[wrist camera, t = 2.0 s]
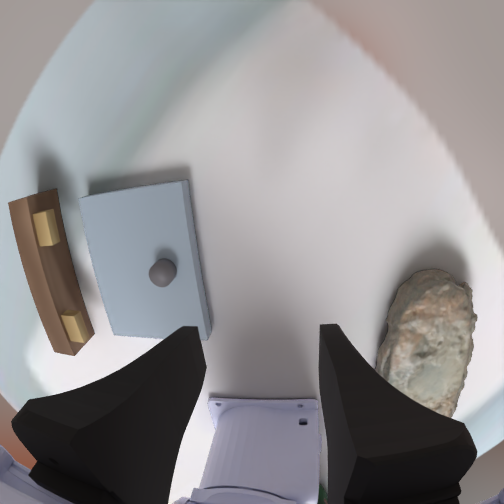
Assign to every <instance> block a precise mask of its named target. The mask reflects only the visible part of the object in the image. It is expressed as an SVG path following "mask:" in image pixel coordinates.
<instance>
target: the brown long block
mask: <svg viewBox="0 0 504 504" xmlns="http://www.w3.org/2000/svg"><path fill="white" fill-rule="evenodd" d="M8 204H9V210H10V215H11V220H12V225H13V229H14V234H15V238H16V242H17V246H18V250H19V254H20V257H21V261H22V265H23V268H24V271H25V275H26V278H27V281H28V284H29V287H30V290H31V293H32V296H33V299H34V302H35V305H36V308H37V310H38V313H39V316H40V318H41V321H42V323H43V326H44V328H45V331H46V333H47V336H48V338H49V340H50V343H51V345H52V347H53V350H54V352H57V353H61V354H66V355H72V356H75V355H76V354H77V353H78V352H79V350H80V349H81V348H82V347H83V346H84V345H85V344H86V343H87V342H88V341H89V340H90V339H91V337H92V336H93V335H94V334H95V333H94V331H93V328H92V325H91V322H90V319H89V316H88V314H87V311H86V308H85V304H84V301H83V298H82V295H81V292H80V288H79V285H78V282H77V278H76V275H75V271H74V267H73V264H72V260H71V256H70V252H69V248H68V244H67V239H66V235H65V230H64V226H63V221H62V216H61V211H60V205H59V200H58V194H57V189H53V190H49V191H45V192H41V193H37V194H34V195H30V196H27V197H24V198H21V199H18V200H15V201H12V202H9V203H8Z"/></svg>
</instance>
